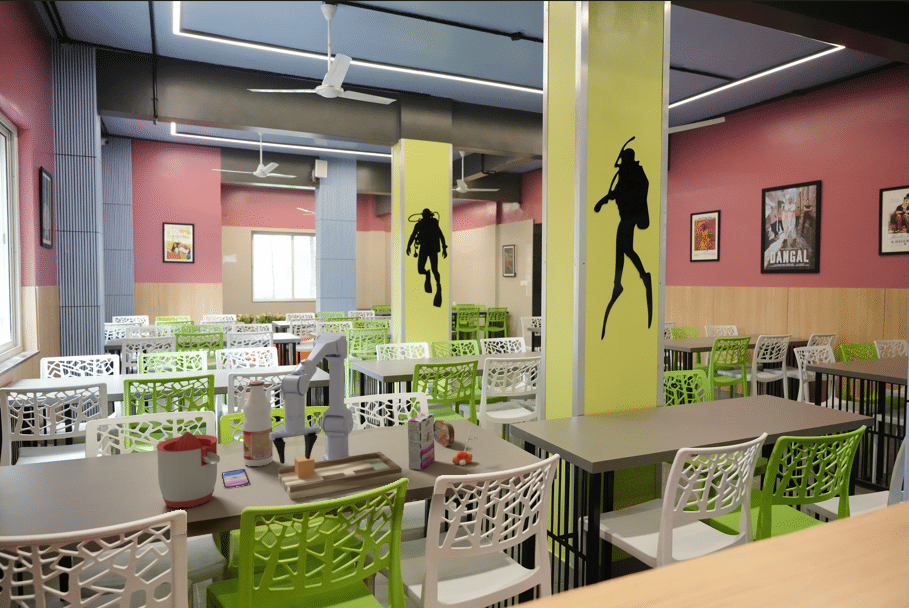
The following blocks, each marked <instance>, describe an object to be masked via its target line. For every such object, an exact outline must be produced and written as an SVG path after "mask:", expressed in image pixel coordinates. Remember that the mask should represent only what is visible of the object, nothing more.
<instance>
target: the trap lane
mask: <svg viewBox="0 0 909 608" xmlns="http://www.w3.org/2000/svg"><path fill="white" fill-rule="evenodd" d="M349 456H350V455H349ZM314 467H315V475H313V476H307V477H301V478H298V477H297V476H296V474H295V464H294V465H289V466H288V465H287V466H281V467H278V468H277V473H278V476H277V477H278V481H279V482H280V484H281V486H282V487H283V489H284V491H285V492H286V494H287V495H288V497H289V500H291V499H292V500H296V499H295V498H297V499H301V498H300V497H302V498H307V497H306V496H308V497H312V496H318V495H322V494H329V493H333V492H339V491H343V490H349V489H354V488H360V487H361V488H362V487H365V486H371V485H376V484H380V483H388V482H391V481H397V480H401V479H400V478H403V477H402V476H403V475H402V467H401V466H400V465H399V464H397V463H396V462H394V461H393V460H392V459H391V458H389V457H388V456H386V455H385V454H384V453H382V452H381V451H376V452H370V453H369V452H368V453H363V454H357V455H351V456H350V457H343V458H337V459H331V460H326V459H324V460H320V461H314Z"/></svg>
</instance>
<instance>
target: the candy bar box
mask: <svg viewBox="0 0 909 608" xmlns="http://www.w3.org/2000/svg"><path fill="white" fill-rule="evenodd" d="M434 418H435V417H434V413H428V412H421V413H419V414H417V415H415V416H414V417H412V418H410V419H408V420H407V433H408V434H407V435H408V437H407V438H408V440H407V441H408V468H409V470H414V471H423V470H425V468H426V467H428V466H429V465H430V464H432V463H433V462H434V461H435V457H436V456H435V438H434V423H435V419H434Z"/></svg>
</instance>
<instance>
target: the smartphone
mask: <svg viewBox="0 0 909 608" xmlns="http://www.w3.org/2000/svg"><path fill="white" fill-rule="evenodd" d="M246 471H247V470H246V469H245V468H239V469H234V470H229V471H224V472H221V473H222V479H223V482H222V485H223V484H224V486H223V488H224V487H225V488H229V489H231V488H230V487H235V488H237V487H236V486H241V487H243V486H242V485H247V486H249V485H248V484H250V485H251V482H250V479H249V476H248V472H246ZM223 473H225V474H224V475H223ZM222 479H221V480H222ZM225 488H224V489H225Z"/></svg>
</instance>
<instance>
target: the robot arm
mask: <svg viewBox="0 0 909 608" xmlns="http://www.w3.org/2000/svg"><path fill="white" fill-rule="evenodd" d="M312 347H313V348H312V350H311V352H310V353H309V355H308V357H307V358H305V359H301V360H300V362H299V363H298V364H297V366H296V367H294V369H293V370H292V372H291V373H290V374H287V375H286V376H284V377H283V378H281V383H280V392H281V393H282V399H283V401H284V429H281V430H277V431H272V432H271V433H269V439H270V440H271V441H272V444H274V447H275V448H276V452H277V454H278V458H279V463H280V464H281V465H282V464H285V461H286V459H285V455H286V454H285V451H286V449H285V448H286V441H284V440H285V439H288V438H294V437H301V436H303V439H304V456H305V458H306V459H310V455H311V454H312V451H313V448H314V445H315V443H316V441H317V440H318V435H319V434H320V426H317V425H314V426H306V422H305V421H306V419H305V417H306V416H305V415H306V409H305V406H306V405H305V404H306V403H305V397H306V396H305V394H306V393H308V391H309V386H310V384H311V379H312V378H313V377H314V375H315V374H316V373H317V370H318V368H317V365H318V364H319V363H321V361H322V360H323V359H326V360H327V361H328V363H329V364H328V366H329V368H328V369H329V370H328V371H329V372H328V373H329V375H328V376H329V385H328V386H329V388H328V389H329V390H328V391H329V397H328V398H329V402H328V404H329V407H327V408H326V409H325V410H323V412H322V419H321V422H320V423H321V430H322V432H323V433H324V435H325V441H324V442H325V443H324V444H325V446H324V447H325V454H323V455H322V457H323V458H324V460H331V459H337V458H343V457H350V454H349V434H351V433H352V431H353V428H354V418H353V411H352V410H351V409H349V408H348V407H347V406H345V360H346V359H347V358H348V340H347V339H346V338H345V336H344V335H340V336H338V335H335V336H334V335H333V336H332V335H317V336H316V337H315V338H314V340H313V346H312ZM317 434H318V435H317ZM311 456H312V455H311Z"/></svg>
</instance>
